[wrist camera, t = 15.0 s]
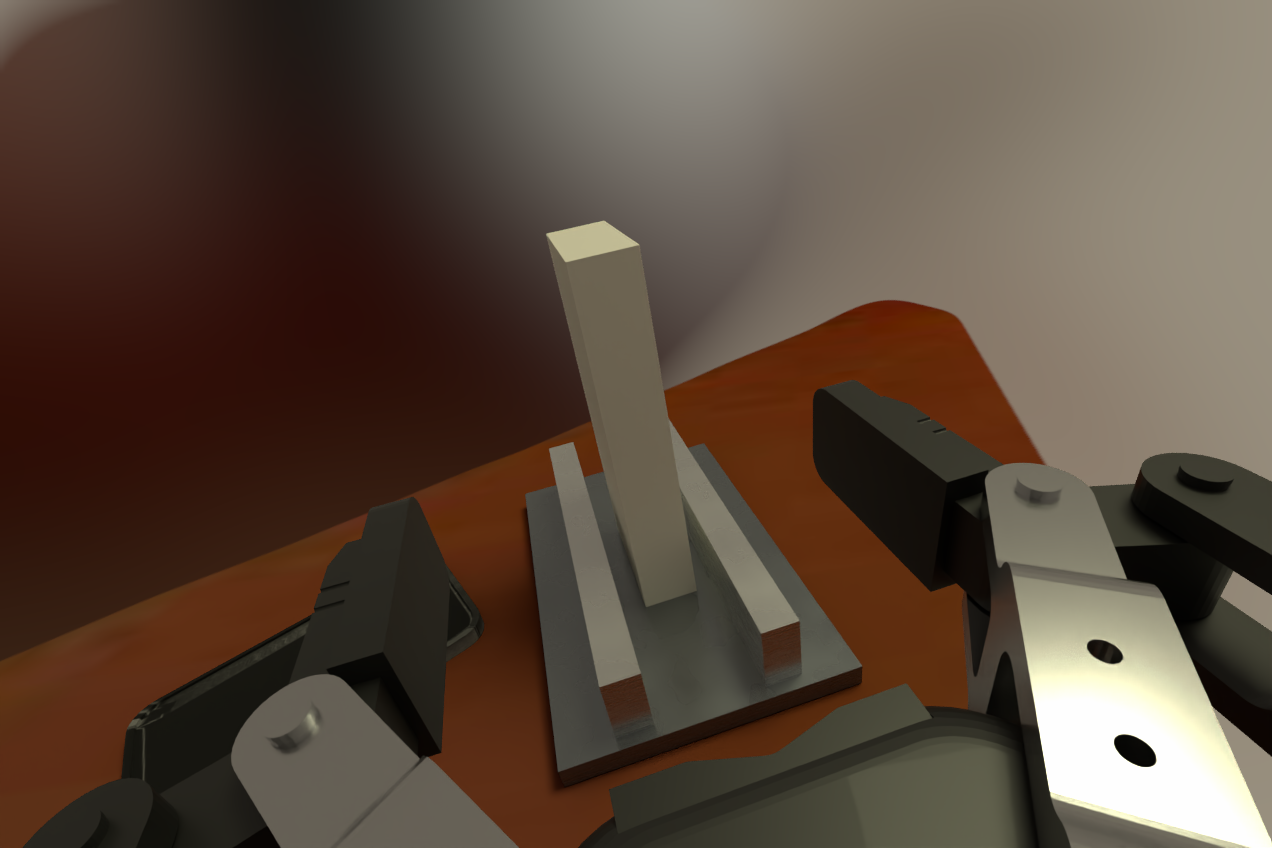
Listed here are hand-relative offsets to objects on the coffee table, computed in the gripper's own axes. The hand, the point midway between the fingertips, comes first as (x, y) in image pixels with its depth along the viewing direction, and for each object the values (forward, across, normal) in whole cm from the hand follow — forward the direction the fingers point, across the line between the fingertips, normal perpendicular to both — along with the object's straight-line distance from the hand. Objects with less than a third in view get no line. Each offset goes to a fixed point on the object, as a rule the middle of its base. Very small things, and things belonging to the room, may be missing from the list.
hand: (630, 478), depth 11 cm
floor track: (+12, -2, +15) cm, 19 cm away
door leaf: (+12, -2, +14) cm, 19 cm away
